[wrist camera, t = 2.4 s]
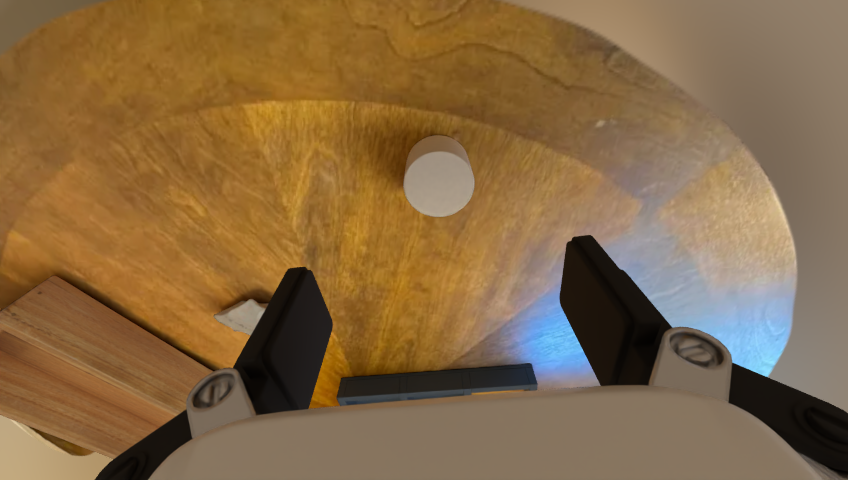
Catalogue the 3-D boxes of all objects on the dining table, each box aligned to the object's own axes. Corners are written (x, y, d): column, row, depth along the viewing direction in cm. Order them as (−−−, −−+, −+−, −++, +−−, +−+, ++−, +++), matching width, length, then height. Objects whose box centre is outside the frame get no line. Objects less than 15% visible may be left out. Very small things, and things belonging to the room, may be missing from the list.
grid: (531, 363, 35) (537, 384, 33) (524, 455, 46) (528, 474, 44) (341, 377, 37) (336, 398, 35) (380, 462, 48) (378, 481, 46)
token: (466, 130, 21) (472, 146, 19) (470, 191, 24) (476, 213, 21) (401, 139, 22) (397, 156, 19) (411, 198, 24) (409, 220, 21)
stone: (276, 339, 33) (309, 310, 31) (267, 358, 31) (302, 329, 29) (217, 308, 31) (248, 274, 28) (204, 328, 29) (235, 293, 26)
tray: (307, 425, 42) (292, 475, 38) (230, 452, 47) (207, 500, 42) (63, 267, 28) (-10, 316, 23) (-15, 329, 33) (-90, 380, 28)
